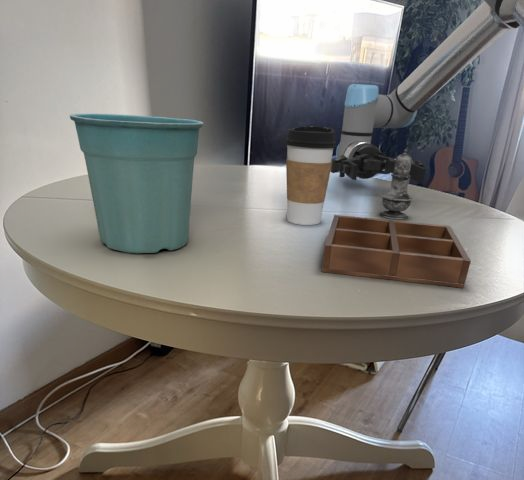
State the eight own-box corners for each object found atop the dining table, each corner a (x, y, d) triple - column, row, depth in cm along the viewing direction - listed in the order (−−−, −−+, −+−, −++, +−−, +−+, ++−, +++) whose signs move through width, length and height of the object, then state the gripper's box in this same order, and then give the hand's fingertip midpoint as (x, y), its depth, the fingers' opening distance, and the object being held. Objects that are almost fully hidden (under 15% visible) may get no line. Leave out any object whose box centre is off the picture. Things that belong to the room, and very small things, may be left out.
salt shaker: (380, 211, 95) (391, 145, 89) (410, 215, 93) (424, 148, 87) (375, 217, 90) (386, 148, 84) (407, 221, 88) (421, 151, 83)
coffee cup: (333, 219, 86) (344, 128, 79) (318, 229, 80) (329, 131, 72) (290, 213, 89) (297, 124, 82) (272, 222, 83) (278, 126, 75)
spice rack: (445, 248, 73) (450, 225, 72) (463, 288, 58) (471, 260, 57) (331, 236, 76) (334, 214, 74) (321, 271, 61) (324, 245, 59)
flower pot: (155, 222, 79) (149, 113, 71) (227, 244, 70) (229, 122, 62) (62, 239, 67) (43, 112, 60) (133, 268, 58) (121, 123, 51)
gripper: (411, 178, 116) (445, 196, 97) (309, 174, 114) (324, 191, 95) (417, 145, 112) (454, 157, 93) (312, 140, 110) (329, 150, 92)
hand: (389, 174), depth 94 cm, fingers open, 13 cm apart
